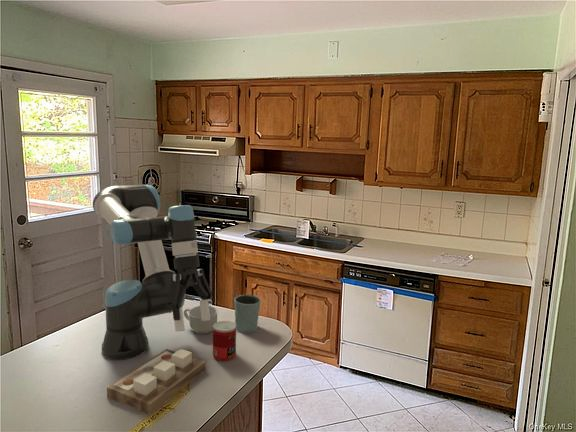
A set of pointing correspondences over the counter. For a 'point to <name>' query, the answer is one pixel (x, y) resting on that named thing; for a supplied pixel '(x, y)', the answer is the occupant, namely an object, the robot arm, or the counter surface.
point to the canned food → (224, 340)
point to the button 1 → (145, 384)
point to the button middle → (164, 370)
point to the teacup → (197, 321)
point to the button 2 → (182, 358)
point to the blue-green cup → (246, 313)
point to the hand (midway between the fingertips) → (193, 325)
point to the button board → (164, 390)
